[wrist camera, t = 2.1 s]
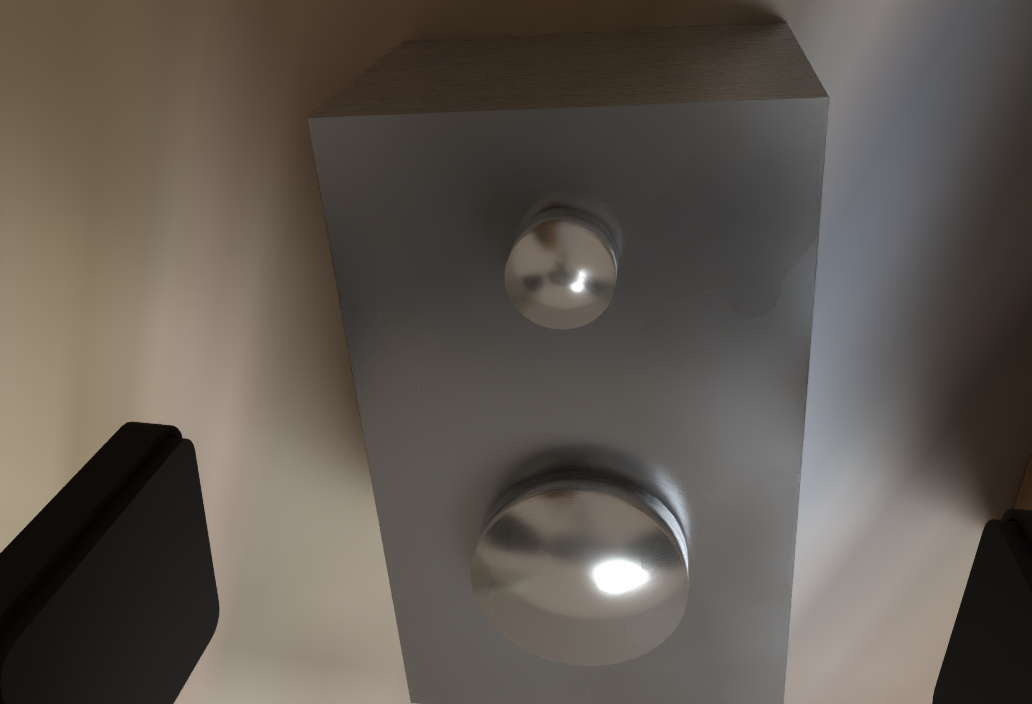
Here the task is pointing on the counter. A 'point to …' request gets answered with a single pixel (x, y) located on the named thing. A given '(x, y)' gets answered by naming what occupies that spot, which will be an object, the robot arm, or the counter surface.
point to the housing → (583, 353)
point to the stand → (1025, 490)
